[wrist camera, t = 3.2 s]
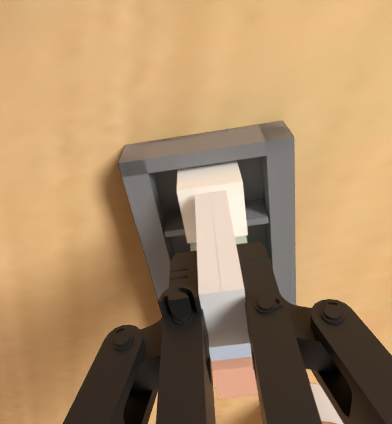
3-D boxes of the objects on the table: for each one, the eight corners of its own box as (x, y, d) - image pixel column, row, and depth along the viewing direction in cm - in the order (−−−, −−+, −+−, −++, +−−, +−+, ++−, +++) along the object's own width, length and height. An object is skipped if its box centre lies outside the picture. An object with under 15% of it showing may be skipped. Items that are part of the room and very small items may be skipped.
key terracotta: (209, 332, 26) (211, 370, 23) (254, 327, 25) (261, 365, 23) (214, 360, 27) (217, 399, 25) (257, 355, 27) (264, 394, 25)
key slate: (200, 289, 23) (202, 327, 21) (250, 283, 23) (257, 320, 21) (207, 323, 25) (209, 361, 23) (253, 317, 25) (260, 355, 22)
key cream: (177, 164, 20) (176, 191, 17) (235, 155, 20) (242, 181, 17) (187, 213, 22) (187, 243, 19) (240, 205, 22) (247, 235, 19)
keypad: (124, 145, 21) (117, 163, 19) (282, 120, 20) (294, 136, 18) (180, 346, 30) (179, 373, 28) (288, 333, 30) (296, 360, 28)
